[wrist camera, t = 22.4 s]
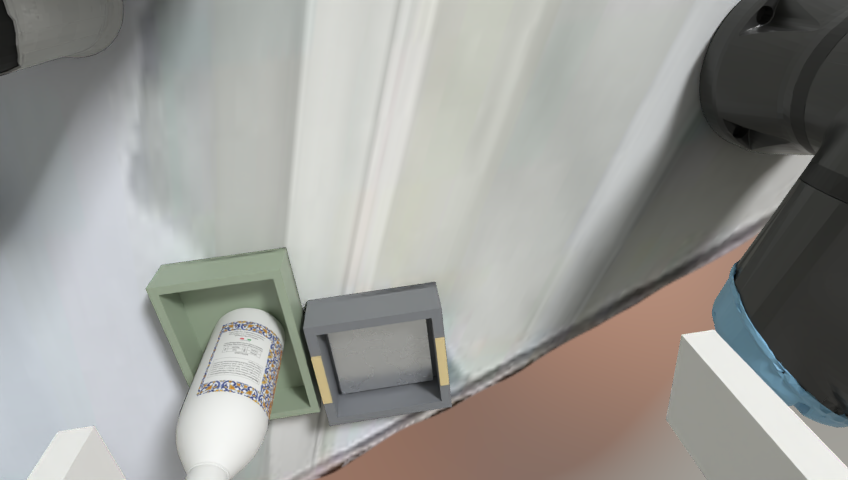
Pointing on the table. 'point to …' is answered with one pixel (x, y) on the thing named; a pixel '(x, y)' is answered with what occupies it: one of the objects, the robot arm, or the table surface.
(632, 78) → the table surface
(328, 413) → the gray square tray
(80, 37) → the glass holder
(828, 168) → the robot arm
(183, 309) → the green tray
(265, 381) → the bath foam
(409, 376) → the plate
